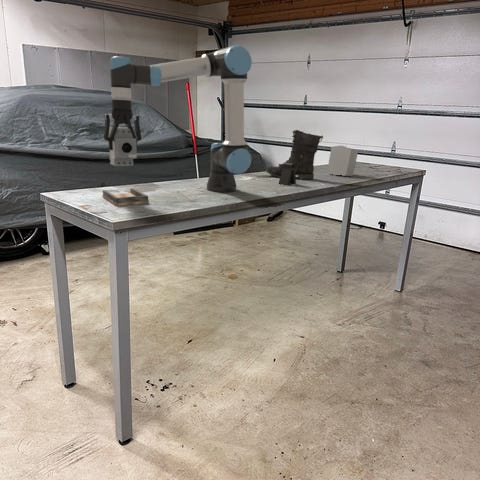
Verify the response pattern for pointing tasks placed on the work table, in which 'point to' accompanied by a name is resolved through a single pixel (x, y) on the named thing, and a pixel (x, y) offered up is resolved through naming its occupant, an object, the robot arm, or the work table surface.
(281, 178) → the door stopper
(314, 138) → the boot
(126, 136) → the circuit breaker
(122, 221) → the work table surface
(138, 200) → the track
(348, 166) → the electrical switch box
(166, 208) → the work table surface
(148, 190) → the work table surface
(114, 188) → the work table surface
